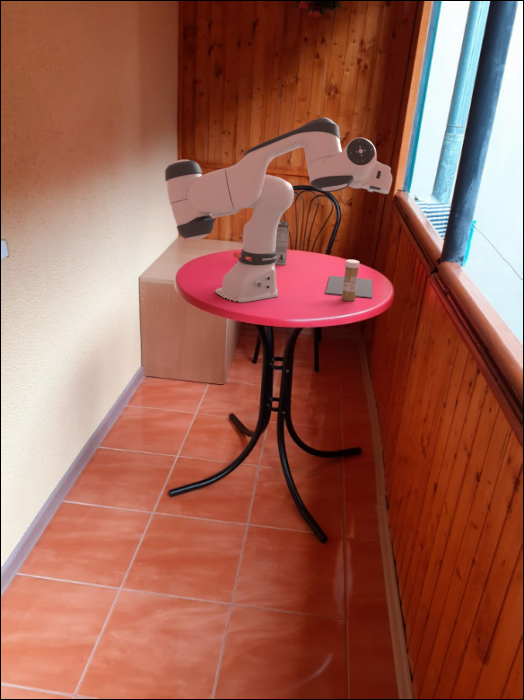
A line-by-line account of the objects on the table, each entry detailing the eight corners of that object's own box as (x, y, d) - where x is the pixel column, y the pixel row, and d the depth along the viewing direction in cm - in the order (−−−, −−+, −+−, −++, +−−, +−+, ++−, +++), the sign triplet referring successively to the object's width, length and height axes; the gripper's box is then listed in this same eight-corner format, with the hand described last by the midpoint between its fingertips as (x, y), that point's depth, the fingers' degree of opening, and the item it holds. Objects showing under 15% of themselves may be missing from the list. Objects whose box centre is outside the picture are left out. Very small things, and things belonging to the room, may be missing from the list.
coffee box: (270, 258, 238) (272, 220, 232) (286, 259, 239) (288, 221, 232) (270, 264, 230) (272, 224, 224) (286, 265, 230) (289, 225, 224)
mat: (371, 298, 195) (372, 297, 195) (325, 293, 198) (325, 292, 197) (372, 280, 215) (372, 279, 215) (329, 276, 217) (330, 275, 217)
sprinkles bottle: (339, 297, 194) (343, 259, 189) (350, 296, 196) (355, 258, 191) (345, 302, 190) (350, 263, 185) (357, 300, 192) (362, 262, 187)
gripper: (318, 172, 158) (319, 187, 172) (390, 190, 156) (385, 203, 170) (324, 150, 158) (325, 166, 172) (396, 168, 156) (391, 183, 169)
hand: (355, 185), depth 171 cm, fingers open, 8 cm apart
